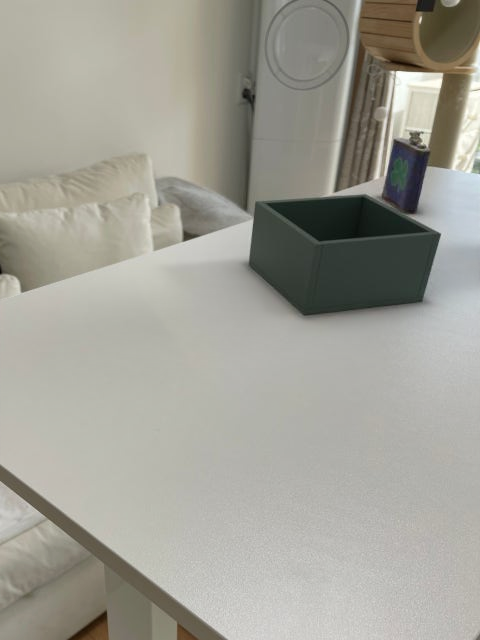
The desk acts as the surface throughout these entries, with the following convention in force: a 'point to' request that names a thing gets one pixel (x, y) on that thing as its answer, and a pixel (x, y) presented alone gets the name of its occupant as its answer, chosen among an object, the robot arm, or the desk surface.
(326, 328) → the desk surface
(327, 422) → the desk surface
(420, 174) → the flask
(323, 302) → the bin
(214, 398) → the desk surface
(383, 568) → the desk surface
